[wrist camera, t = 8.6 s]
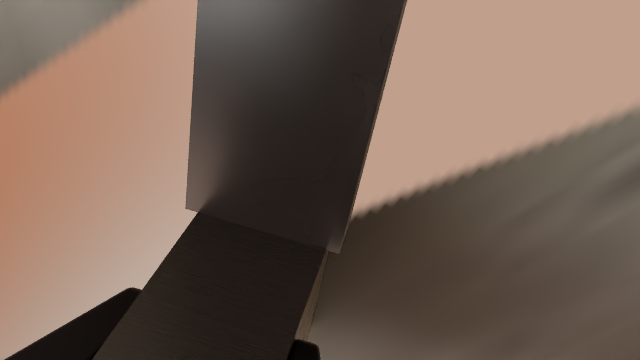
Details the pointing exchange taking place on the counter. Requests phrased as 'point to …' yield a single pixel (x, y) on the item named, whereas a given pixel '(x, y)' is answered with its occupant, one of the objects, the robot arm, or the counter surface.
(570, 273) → the counter surface
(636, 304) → the counter surface
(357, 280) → the counter surface
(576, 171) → the counter surface
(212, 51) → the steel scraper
